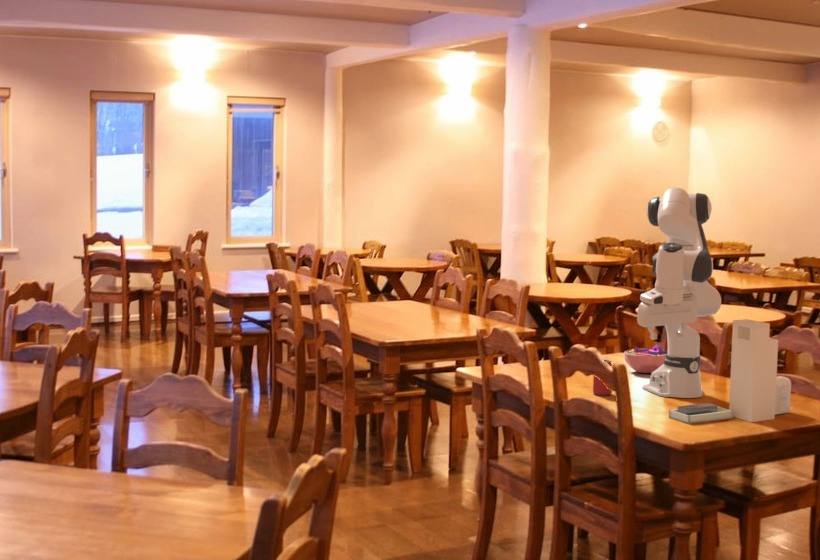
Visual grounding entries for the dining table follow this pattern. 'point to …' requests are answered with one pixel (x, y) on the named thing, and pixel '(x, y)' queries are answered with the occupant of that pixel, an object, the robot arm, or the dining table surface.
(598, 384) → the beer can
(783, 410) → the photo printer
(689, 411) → the drive caddy
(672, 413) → the tray
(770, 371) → the white dispenser tower
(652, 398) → the dining table surface
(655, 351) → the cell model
